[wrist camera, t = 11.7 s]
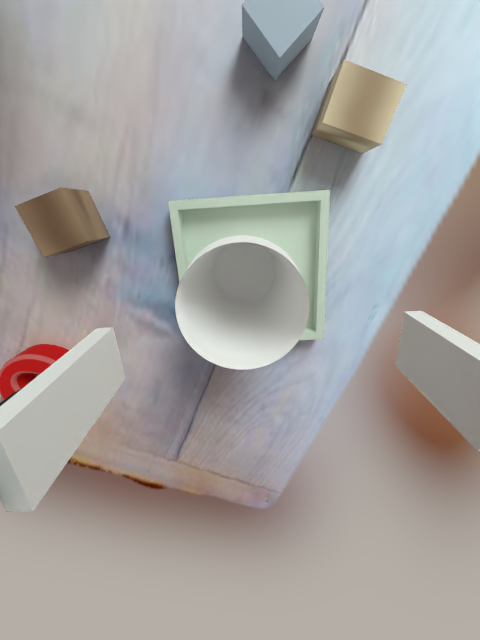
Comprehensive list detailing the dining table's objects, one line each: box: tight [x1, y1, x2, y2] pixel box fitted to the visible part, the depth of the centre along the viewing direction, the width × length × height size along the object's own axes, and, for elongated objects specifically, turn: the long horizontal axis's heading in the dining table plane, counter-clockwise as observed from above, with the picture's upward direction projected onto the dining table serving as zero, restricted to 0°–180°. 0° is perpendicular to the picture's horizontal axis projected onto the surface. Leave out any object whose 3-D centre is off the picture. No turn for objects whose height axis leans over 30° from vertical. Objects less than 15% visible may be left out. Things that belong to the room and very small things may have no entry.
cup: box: [175, 235, 309, 370], centre depth 24 cm, size 9×9×12 cm
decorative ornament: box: [0, 344, 69, 400], centre depth 34 cm, size 10×10×3 cm
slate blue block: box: [242, 0, 324, 81], centre depth 21 cm, size 4×4×4 cm
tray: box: [168, 190, 330, 346], centre depth 29 cm, size 15×15×2 cm
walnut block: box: [15, 188, 110, 257], centre depth 27 cm, size 4×4×4 cm
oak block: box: [312, 60, 407, 153], centre depth 23 cm, size 5×4×4 cm
